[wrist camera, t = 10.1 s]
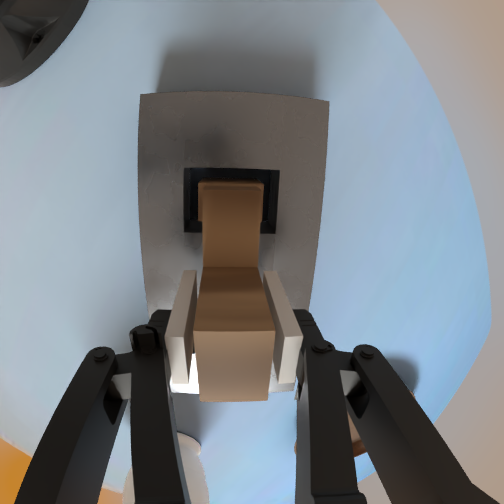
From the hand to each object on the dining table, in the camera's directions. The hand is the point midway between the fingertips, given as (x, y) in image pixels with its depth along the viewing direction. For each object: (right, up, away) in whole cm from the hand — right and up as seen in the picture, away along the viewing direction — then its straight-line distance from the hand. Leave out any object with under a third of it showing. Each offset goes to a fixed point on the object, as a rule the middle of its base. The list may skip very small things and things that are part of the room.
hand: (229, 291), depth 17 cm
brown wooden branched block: (-1, +2, +6) cm, 6 cm away
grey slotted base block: (-1, +2, +6) cm, 6 cm away
